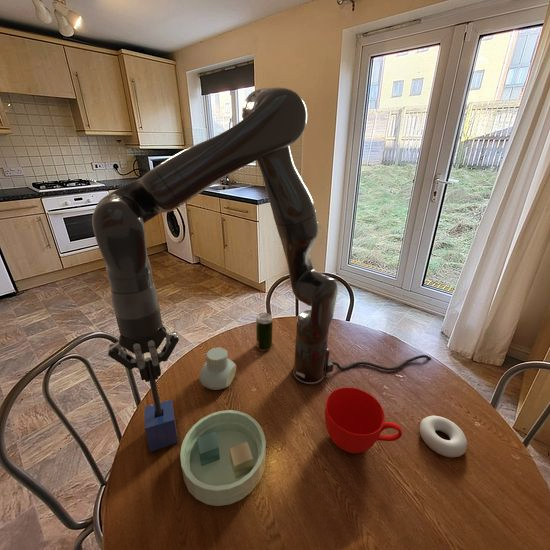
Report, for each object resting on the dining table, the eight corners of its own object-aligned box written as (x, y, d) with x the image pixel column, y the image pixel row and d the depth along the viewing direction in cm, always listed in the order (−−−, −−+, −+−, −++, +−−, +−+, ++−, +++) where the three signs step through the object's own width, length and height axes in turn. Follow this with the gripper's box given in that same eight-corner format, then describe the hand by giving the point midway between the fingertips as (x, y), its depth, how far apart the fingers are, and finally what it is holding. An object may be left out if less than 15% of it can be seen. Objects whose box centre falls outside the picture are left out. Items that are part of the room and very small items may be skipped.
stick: (163, 418, 67) (151, 356, 60) (163, 422, 66) (151, 360, 59) (158, 419, 67) (144, 358, 59) (158, 424, 66) (144, 361, 58)
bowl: (250, 417, 74) (250, 401, 72) (277, 485, 60) (278, 468, 57) (178, 440, 68) (176, 424, 66) (189, 524, 53) (186, 506, 51)
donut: (469, 467, 64) (459, 428, 73) (474, 457, 63) (463, 419, 71) (420, 452, 67) (416, 416, 75) (423, 442, 65) (419, 407, 74)
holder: (175, 422, 72) (171, 399, 69) (178, 444, 67) (174, 419, 64) (149, 430, 70) (144, 406, 67) (150, 453, 65) (144, 428, 62)
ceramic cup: (395, 483, 61) (405, 451, 56) (316, 454, 66) (319, 423, 62) (395, 430, 72) (403, 401, 68) (327, 409, 77) (331, 381, 73)
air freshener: (214, 365, 91) (212, 339, 87) (238, 370, 89) (238, 344, 85) (196, 391, 82) (193, 363, 77) (223, 398, 80) (221, 369, 75)
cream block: (247, 453, 65) (247, 441, 63) (253, 470, 62) (253, 458, 60) (230, 460, 64) (229, 448, 62) (235, 478, 60) (234, 465, 59)
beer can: (261, 353, 97) (261, 323, 92) (253, 344, 101) (253, 315, 96) (275, 347, 100) (275, 318, 95) (266, 339, 104) (267, 310, 99)
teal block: (216, 443, 67) (214, 431, 65) (219, 459, 64) (218, 447, 62) (198, 449, 66) (196, 437, 64) (201, 466, 62) (199, 454, 61)
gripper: (92, 325, 48) (114, 401, 56) (177, 309, 53) (187, 381, 60) (97, 303, 55) (117, 374, 62) (173, 291, 59) (183, 358, 67)
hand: (152, 377), depth 61 cm, fingers closed on stick, 1 cm apart
